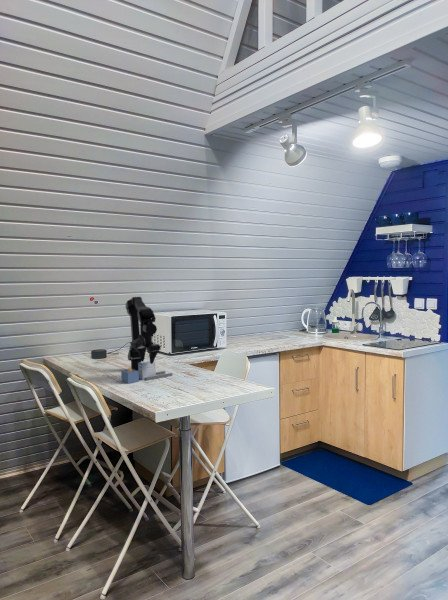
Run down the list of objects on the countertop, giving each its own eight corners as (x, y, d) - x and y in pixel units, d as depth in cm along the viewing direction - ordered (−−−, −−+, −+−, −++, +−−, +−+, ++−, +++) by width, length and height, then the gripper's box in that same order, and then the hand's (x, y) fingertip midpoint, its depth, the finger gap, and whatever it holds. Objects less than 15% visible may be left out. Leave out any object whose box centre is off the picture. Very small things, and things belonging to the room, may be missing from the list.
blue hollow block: (121, 381, 229) (121, 370, 229) (132, 379, 233) (131, 368, 233) (128, 383, 224) (127, 372, 224) (138, 381, 228) (138, 370, 228)
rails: (138, 377, 236) (138, 375, 236) (163, 373, 247) (163, 371, 247) (146, 380, 230) (146, 378, 230) (172, 375, 240) (172, 373, 240)
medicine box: (151, 376, 239) (151, 360, 239) (155, 377, 236) (155, 361, 236) (138, 378, 234) (137, 362, 234) (142, 380, 231) (142, 363, 230)
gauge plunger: (127, 376, 229) (126, 369, 228) (130, 376, 230) (130, 368, 230) (129, 377, 227) (128, 369, 227) (133, 376, 228) (132, 369, 228)
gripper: (123, 332, 235) (124, 362, 236) (141, 335, 221) (142, 367, 222) (142, 330, 243) (143, 359, 244) (160, 333, 228) (161, 364, 229)
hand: (146, 362), depth 234 cm, fingers open, 9 cm apart
